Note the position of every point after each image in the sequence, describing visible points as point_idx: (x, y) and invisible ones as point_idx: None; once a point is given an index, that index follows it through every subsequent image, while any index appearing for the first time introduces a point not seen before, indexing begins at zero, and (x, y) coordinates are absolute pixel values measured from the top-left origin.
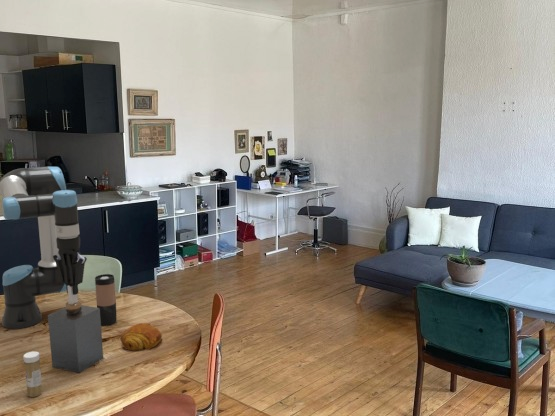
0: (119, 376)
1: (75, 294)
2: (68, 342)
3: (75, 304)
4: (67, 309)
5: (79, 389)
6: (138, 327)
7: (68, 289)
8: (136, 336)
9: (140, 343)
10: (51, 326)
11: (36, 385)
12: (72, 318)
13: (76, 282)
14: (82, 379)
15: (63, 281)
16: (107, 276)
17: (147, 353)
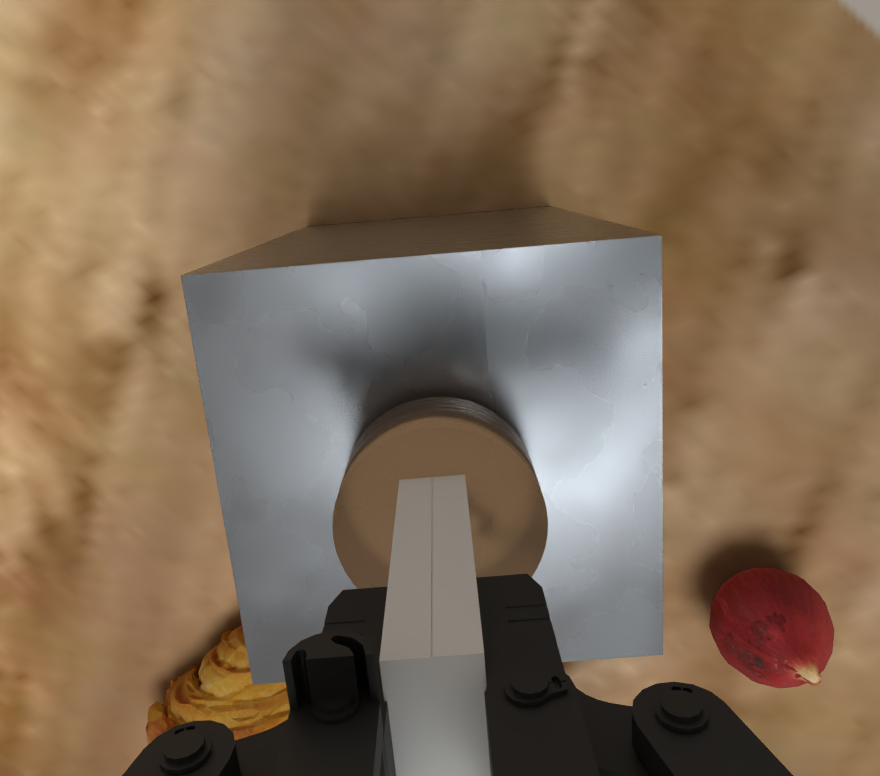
0: (42, 320)
1: (344, 602)
2: (359, 237)
3: (378, 514)
4: (449, 408)
5: (114, 58)
6: None
7: (456, 606)
8: (235, 702)
9: (203, 668)
10: (579, 228)
11: None
12: (262, 307)
13: (157, 771)
14: (215, 173)
15: (632, 716)
16: None
17: (147, 625)
